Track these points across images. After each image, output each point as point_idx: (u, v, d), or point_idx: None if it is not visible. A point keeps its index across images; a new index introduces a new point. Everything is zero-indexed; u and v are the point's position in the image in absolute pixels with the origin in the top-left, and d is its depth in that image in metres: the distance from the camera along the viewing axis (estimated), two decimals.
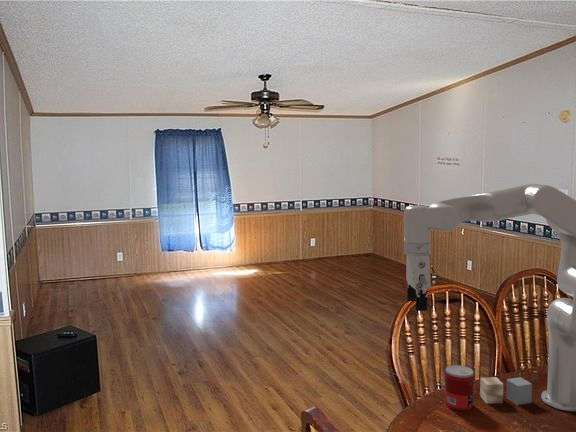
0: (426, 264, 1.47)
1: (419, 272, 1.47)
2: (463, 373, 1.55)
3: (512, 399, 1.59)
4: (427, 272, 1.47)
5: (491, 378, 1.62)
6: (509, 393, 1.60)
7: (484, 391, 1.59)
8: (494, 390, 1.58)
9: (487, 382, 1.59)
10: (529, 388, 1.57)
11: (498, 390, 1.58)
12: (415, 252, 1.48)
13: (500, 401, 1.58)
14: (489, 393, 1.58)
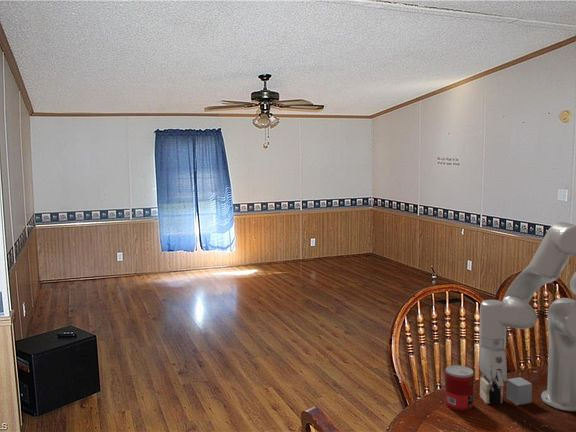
0: (503, 359, 1.54)
1: (496, 369, 1.54)
2: (463, 373, 1.55)
3: (512, 399, 1.59)
4: (504, 367, 1.54)
5: None
6: (509, 393, 1.60)
7: (484, 391, 1.59)
8: None
9: (487, 381, 1.59)
10: (529, 388, 1.57)
11: None
12: (492, 347, 1.55)
13: (500, 401, 1.58)
14: None
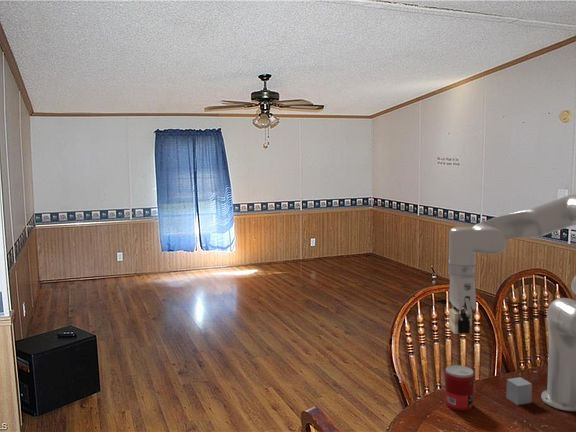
0: (472, 286, 1.48)
1: (465, 296, 1.48)
2: (463, 373, 1.55)
3: (512, 399, 1.59)
4: (473, 294, 1.48)
5: None
6: (509, 393, 1.60)
7: (452, 322, 1.54)
8: None
9: (455, 311, 1.53)
10: (529, 388, 1.57)
11: None
12: (461, 274, 1.49)
13: None
14: (457, 323, 1.52)
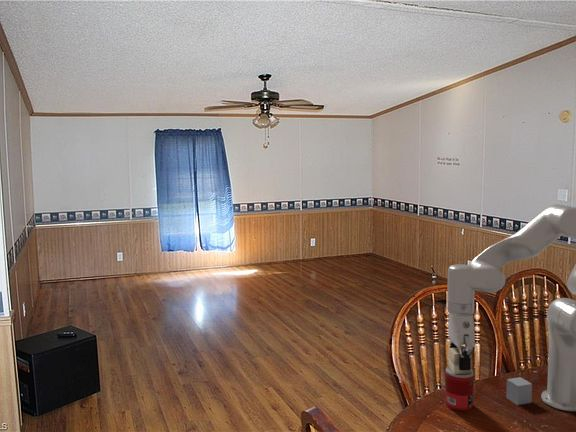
0: (470, 324, 1.50)
1: (464, 333, 1.50)
2: None
3: (512, 399, 1.59)
4: (471, 332, 1.50)
5: None
6: (509, 393, 1.60)
7: (452, 361, 1.55)
8: None
9: (455, 351, 1.55)
10: (529, 388, 1.57)
11: None
12: (459, 312, 1.50)
13: (468, 371, 1.54)
14: (456, 363, 1.53)
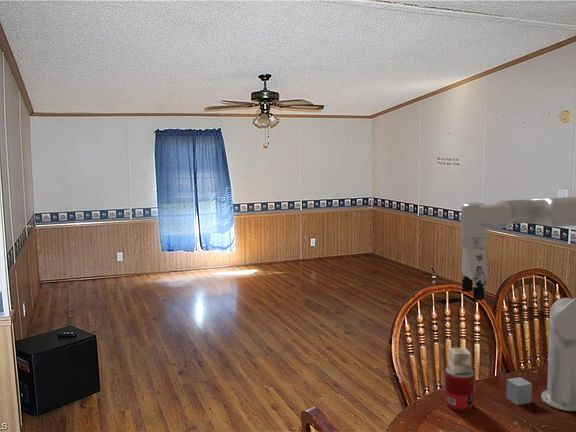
0: (483, 257, 1.60)
1: (477, 264, 1.60)
2: None
3: (512, 399, 1.59)
4: (484, 264, 1.60)
5: (459, 348, 1.57)
6: (509, 393, 1.60)
7: (452, 362, 1.55)
8: (461, 360, 1.53)
9: (455, 351, 1.55)
10: (529, 388, 1.57)
11: (466, 360, 1.53)
12: (473, 246, 1.60)
13: (468, 371, 1.54)
14: (456, 363, 1.53)
